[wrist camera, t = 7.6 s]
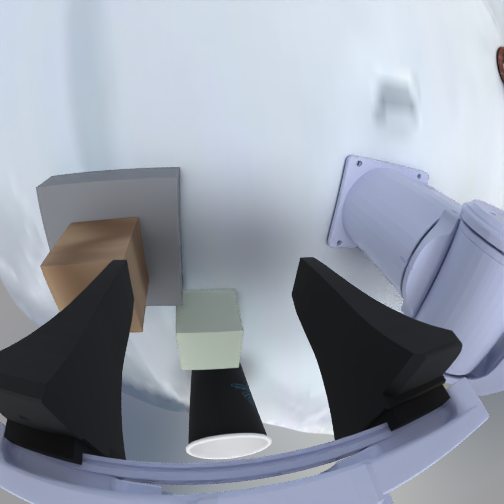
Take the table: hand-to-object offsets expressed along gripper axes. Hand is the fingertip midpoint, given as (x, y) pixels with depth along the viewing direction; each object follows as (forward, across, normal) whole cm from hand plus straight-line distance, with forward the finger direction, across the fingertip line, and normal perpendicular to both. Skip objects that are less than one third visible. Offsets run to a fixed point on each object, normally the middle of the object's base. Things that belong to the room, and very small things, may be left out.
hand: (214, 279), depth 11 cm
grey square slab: (+10, +7, +3) cm, 12 cm away
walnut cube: (+7, +7, +3) cm, 10 cm away
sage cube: (+10, 0, +11) cm, 14 cm away
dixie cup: (+10, -1, +19) cm, 21 cm away
